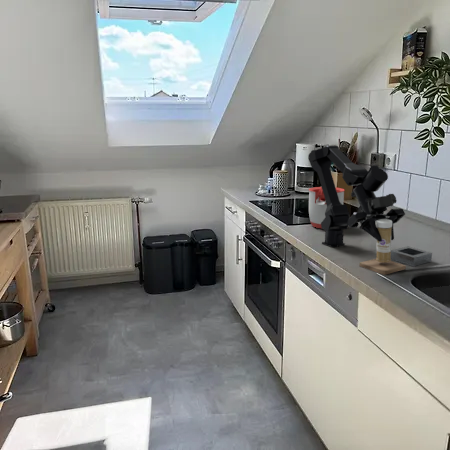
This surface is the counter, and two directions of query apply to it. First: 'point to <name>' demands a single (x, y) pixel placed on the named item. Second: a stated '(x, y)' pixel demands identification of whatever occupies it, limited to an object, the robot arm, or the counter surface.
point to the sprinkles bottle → (384, 240)
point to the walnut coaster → (382, 266)
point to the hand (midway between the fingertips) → (386, 240)
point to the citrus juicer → (320, 205)
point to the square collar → (411, 256)
